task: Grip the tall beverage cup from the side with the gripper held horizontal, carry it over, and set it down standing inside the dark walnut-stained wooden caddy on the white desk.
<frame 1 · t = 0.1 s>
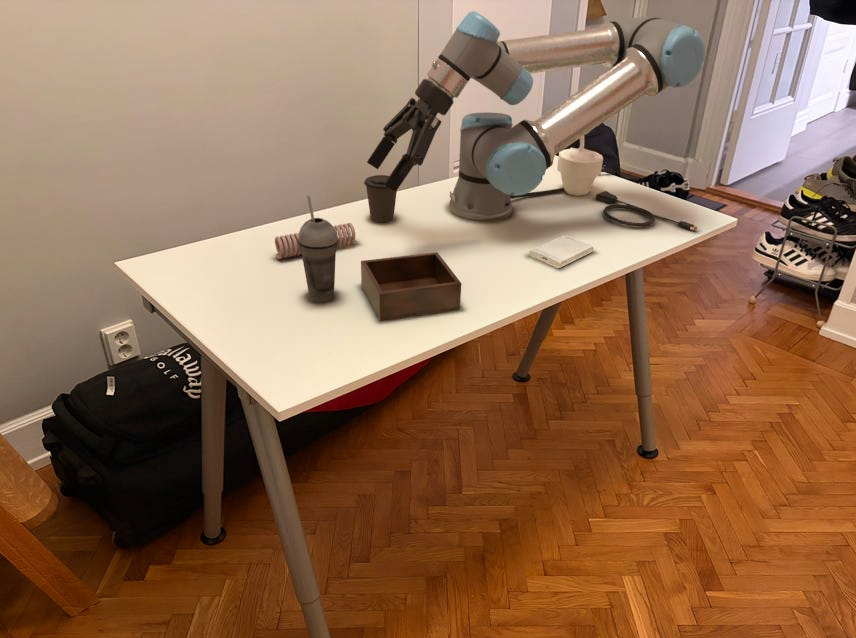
hand: (380, 176, 149), 15 cm above the table, tool tilted 35°, fingers open, 13 cm apart
cable: (632, 219, 178), on the table
coil: (316, 251, 154), on the table
potted plant: (576, 191, 192), on the table
coffee cup: (382, 219, 169), on the table
caddy: (409, 297, 139), on the table
hard drive: (561, 255, 159), on the table
beverage cup: (321, 297, 137), on the table
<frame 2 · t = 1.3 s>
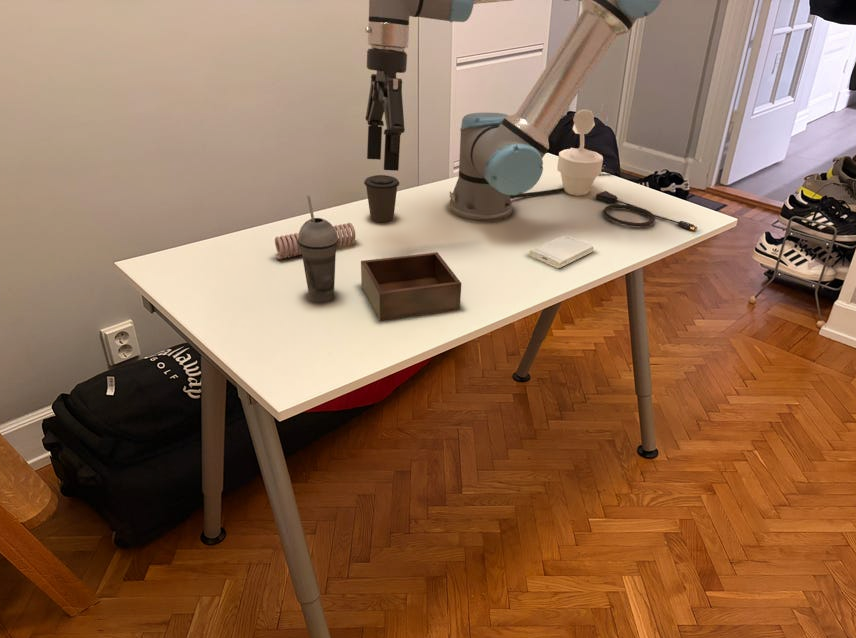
hand: (382, 164, 143), 19 cm above the table, tool pointing down, fingers open, 13 cm apart
nothing on the table moved.
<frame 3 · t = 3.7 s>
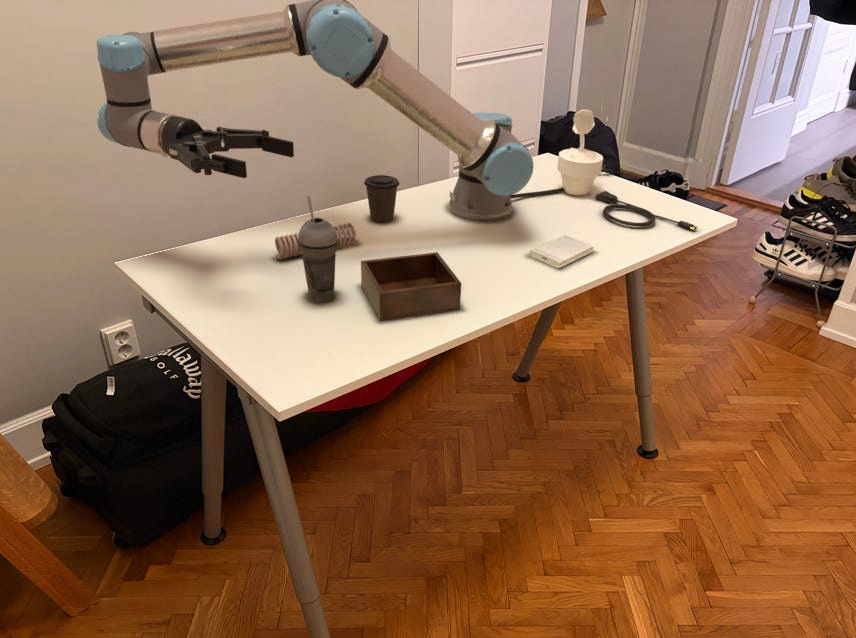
hand: (269, 159, 127), 25 cm above the table, tool horizontal, fingers open, 13 cm apart
nothing on the table moved.
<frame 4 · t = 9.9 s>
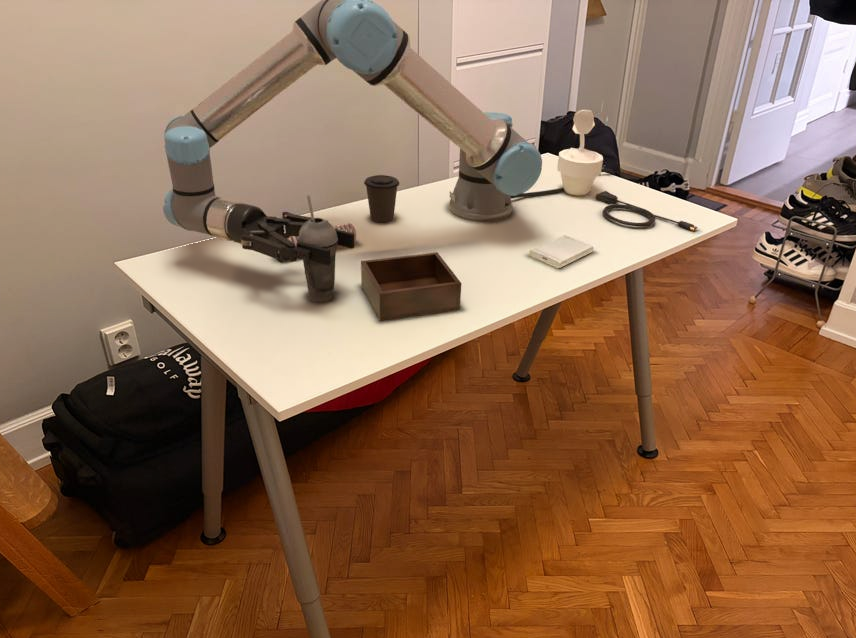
hand: (341, 249, 130), 11 cm above the table, tool horizontal, fingers closed on beverage cup, 7 cm apart
beverage cup: (321, 297, 137), on the table, touching gripper
everything else where it was.
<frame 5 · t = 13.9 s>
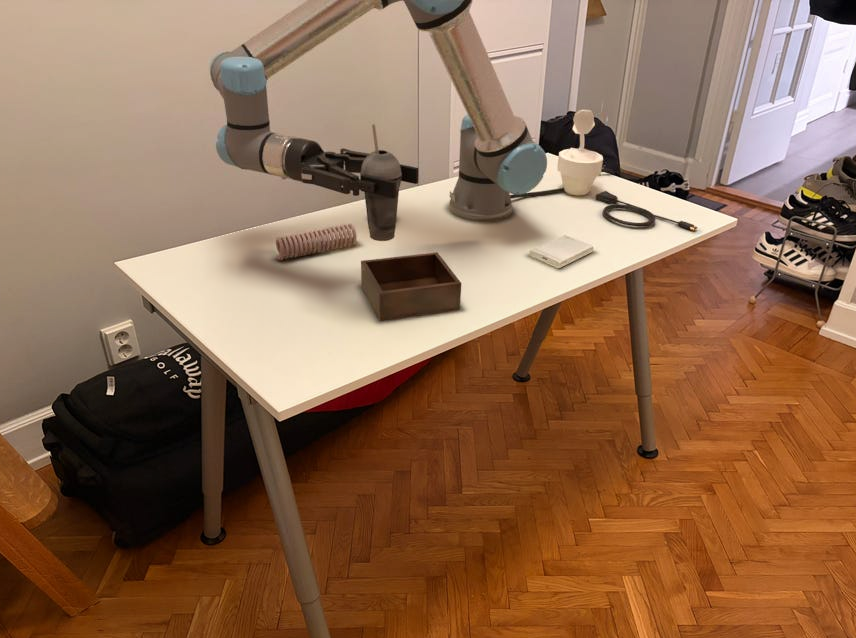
hand: (406, 182, 123), 24 cm above the table, tool horizontal, fingers closed on beverage cup, 7 cm apart
beverage cup: (382, 237, 131), point 13 cm above the table, touching gripper
everything else where it was.
when the fingers open (12 cm above the table, at t = 18.3 s): beverage cup stays where it is, resting on caddy.
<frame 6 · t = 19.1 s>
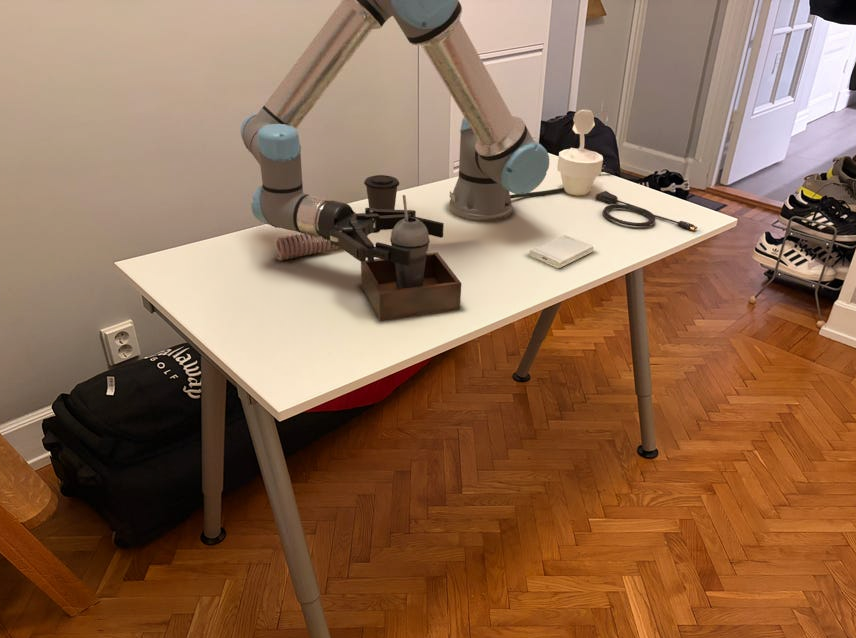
hand: (426, 243, 131), 12 cm above the table, tool horizontal, fingers open, 13 cm apart
beverage cup: (409, 296, 138), resting on caddy
everything else where it was.
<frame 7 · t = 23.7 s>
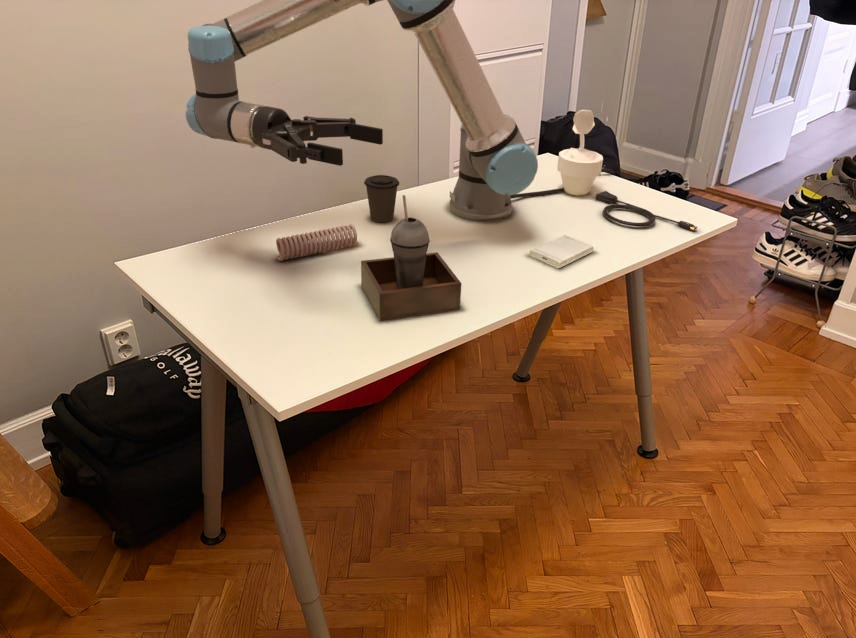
hand: (362, 146, 126), 28 cm above the table, tool horizontal, fingers open, 13 cm apart
nothing on the table moved.
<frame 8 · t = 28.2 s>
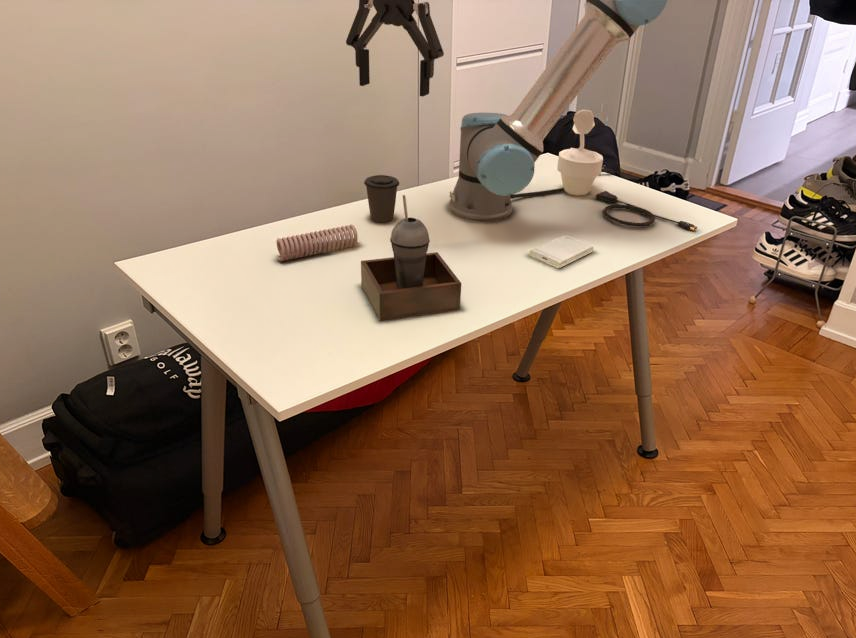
hand: (394, 89, 144), 32 cm above the table, tool pointing down, fingers open, 13 cm apart
at the end: beverage cup inside the target area in the caddy (0.1 cm from its centre), point 0.4 cm above the caddy's base; beverage cup tilted 0°; the gripper is holding nothing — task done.
